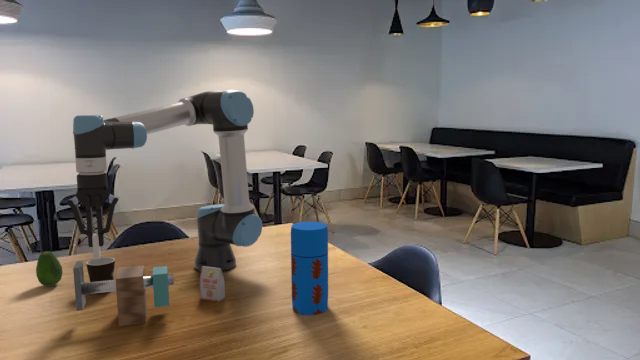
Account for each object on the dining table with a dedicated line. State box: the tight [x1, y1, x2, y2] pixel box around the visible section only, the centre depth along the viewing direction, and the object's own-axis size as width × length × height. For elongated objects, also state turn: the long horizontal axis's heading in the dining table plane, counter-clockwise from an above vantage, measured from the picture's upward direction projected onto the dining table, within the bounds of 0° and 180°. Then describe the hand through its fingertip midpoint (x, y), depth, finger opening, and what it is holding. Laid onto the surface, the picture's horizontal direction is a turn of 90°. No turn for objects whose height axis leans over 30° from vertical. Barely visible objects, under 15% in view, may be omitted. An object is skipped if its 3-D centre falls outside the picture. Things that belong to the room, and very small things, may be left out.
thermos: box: [290, 221, 329, 316], centre depth 149 cm, size 11×11×25 cm
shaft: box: [72, 260, 175, 312], centre depth 143 cm, size 26×6×12 cm, turn 107°
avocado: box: [35, 250, 63, 287], centre depth 170 cm, size 8×8×12 cm
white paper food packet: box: [198, 266, 226, 302], centre depth 159 cm, size 4×7×10 cm, turn 70°
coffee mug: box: [85, 256, 116, 295], centre depth 167 cm, size 12×9×10 cm
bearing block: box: [115, 265, 148, 327], centre depth 144 cm, size 7×10×14 cm
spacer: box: [152, 265, 170, 308], centre depth 146 cm, size 4×7×10 cm, turn 17°
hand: (97, 257), depth 140 cm, fingers closed
